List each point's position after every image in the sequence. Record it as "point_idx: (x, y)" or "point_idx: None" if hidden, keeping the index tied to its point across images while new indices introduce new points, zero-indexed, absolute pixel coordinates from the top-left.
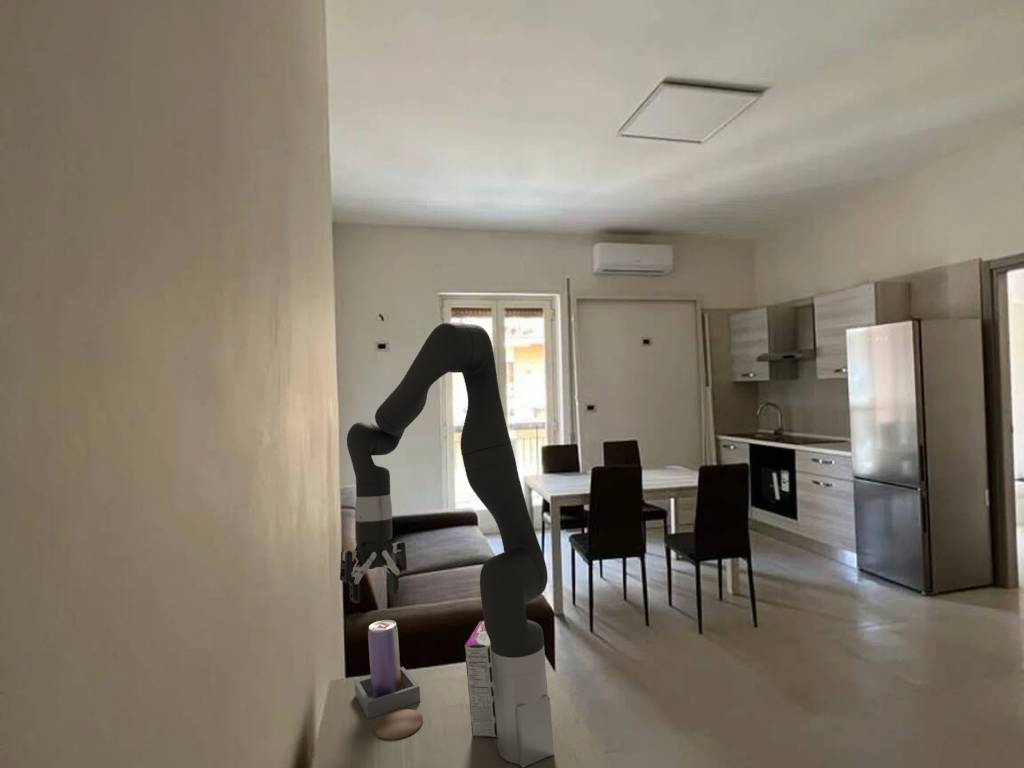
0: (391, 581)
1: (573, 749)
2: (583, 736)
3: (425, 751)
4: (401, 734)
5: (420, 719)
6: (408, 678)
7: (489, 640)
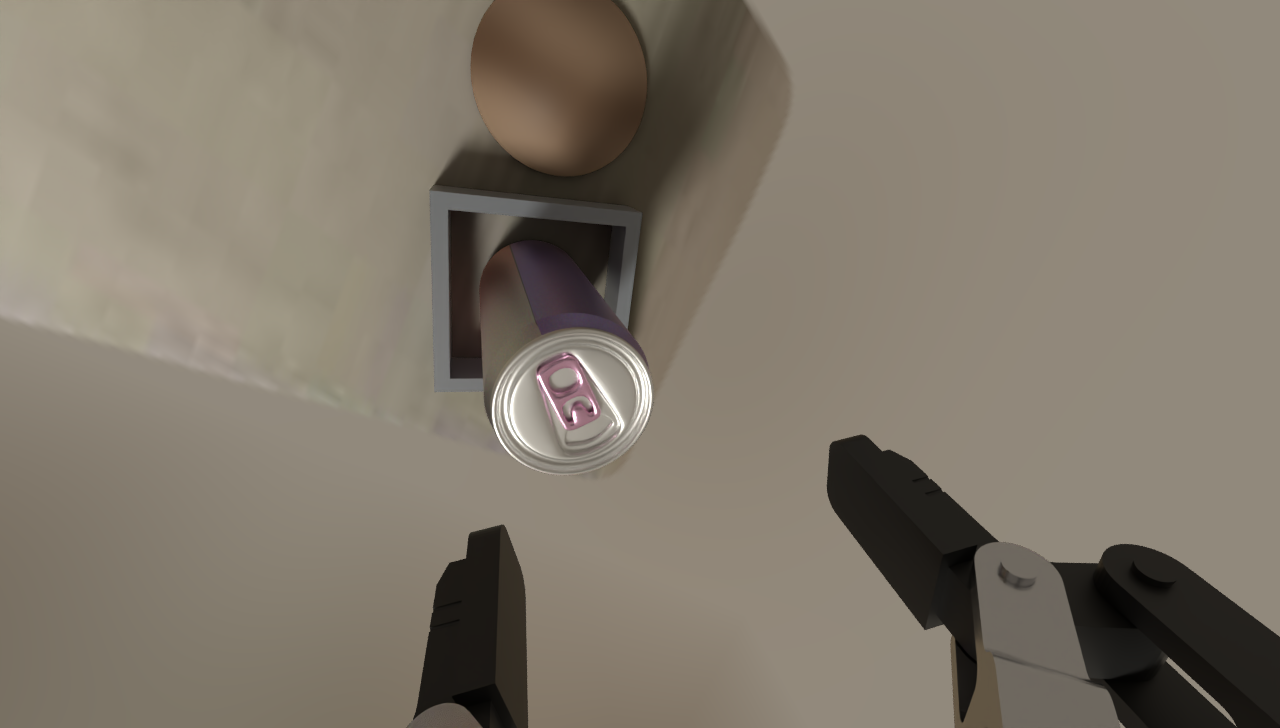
0: (511, 651)
1: None
2: None
3: None
4: None
5: (486, 29)
6: (448, 286)
7: None
